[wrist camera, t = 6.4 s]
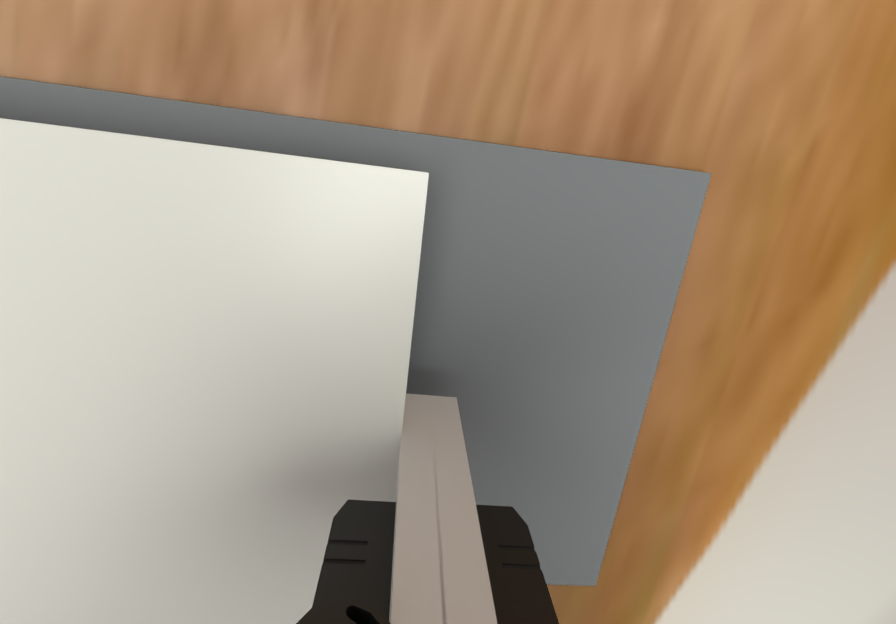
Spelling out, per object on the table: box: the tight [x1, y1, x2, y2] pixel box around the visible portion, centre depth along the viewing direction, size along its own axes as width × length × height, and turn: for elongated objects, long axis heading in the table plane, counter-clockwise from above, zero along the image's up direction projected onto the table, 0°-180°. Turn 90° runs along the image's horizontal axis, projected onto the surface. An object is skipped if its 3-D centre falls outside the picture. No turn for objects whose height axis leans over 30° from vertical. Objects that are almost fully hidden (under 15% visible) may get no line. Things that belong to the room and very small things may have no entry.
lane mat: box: [0, 77, 712, 586], centre depth 15 cm, size 16×24×1 cm, turn 83°
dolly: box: [0, 118, 429, 624], centre depth 12 cm, size 14×17×4 cm
